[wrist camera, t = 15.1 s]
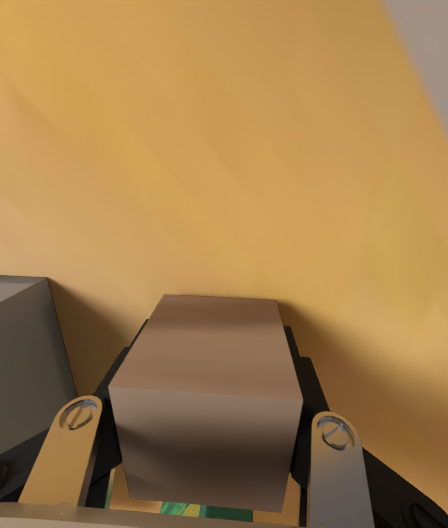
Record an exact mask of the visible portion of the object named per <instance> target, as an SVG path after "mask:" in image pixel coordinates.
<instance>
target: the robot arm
mask: <svg viewBox="0 0 448 528" xmlns="http://www.w3.org/2000/svg"><path fill="white" fill-rule="evenodd" d="M148 320H149V319H147V320H146V321H145V322H144V324H143V326H142V327H141V329H140V330H139V332H138V334H137V335H136V337H135V338H134V340H133V342H132V343H131V345H130V346H129V347H125V348H124V349H123V350H122V351H121V353H120V354H119V356H118V357H117V359H116V360H115V362H114V363H113V365H112V367H111V368H110V370H109V371H108V373H107V374H106V376H105V377H104V379H103V380H102V382H101V383H100V385H99V386H98V388H97V390H96V391H95V393H94V394H93V396H92V395H90V396H82V397H78V398H76V399H74V400H72V401H70V402H69V403H67V404H66V405H65V406H64V407H63V408H62V409H61V410H60V411H59V412H58V413H57V415H56V417H55V419H54V421H53V423H52V425H51V427H50V428H48V429H46V430H44V431H42V432H41V433H39V434H37V435H35V436H33V437H31V438H30V439H28V440H26V441H24V442H22V443H20V444H18V445H17V446H15V447H13V448H11V449H9V450H7V451H5V452H4V453H2V454H0V528H448V515H447V514H446V512H445V511H444V510H443V509H442V508H441V507H439V506H438V505H437V504H436V503H435V502H434V501H432V500H431V499H430V498H429V497H427V496H426V495H425V494H423V493H422V492H421V491H419V490H418V489H417V488H415V487H414V486H413V485H411V484H410V483H409V482H408V481H406V480H405V479H404V478H402V477H401V476H400V475H398V474H397V473H396V472H394V471H393V470H392V469H390V468H389V467H388V466H386V465H385V464H384V463H383V462H381V461H380V460H379V459H377V458H376V457H375V456H373V455H372V454H371V453H369V452H368V451H367V450H365V449H364V448H363V447H362V446H361V440H360V437H359V434H358V432H357V430H356V429H355V427H354V426H353V425H352V424H351V423H350V422H349V421H348V420H347V419H346V418H344V417H343V416H341V415H339V414H336V413H334V412H330V410H329V407H328V404H327V402H326V399H325V396H324V394H323V391H322V388H321V386H320V383H319V380H318V378H317V375H316V372H315V370H314V367H313V364H312V361H311V359H310V358H309V357H300V355H299V351H298V348H297V345H296V342H295V339H294V336H293V333H292V330H291V327H290V326H283V328H284V332H285V335H286V339H287V343H288V346H289V350H290V354H291V357H292V361H293V365H294V368H295V372H296V376H297V379H298V383H299V387H300V390H301V394H302V397H303V404H302V409H301V414H300V419H299V424H298V429H297V435H296V440H295V445H294V450H293V455H292V460H291V465H290V470H289V473H291V476H292V478H293V479H294V480H295V481H296V482H297V483H298V484H299V495H298V512H297V526H286V525H276V524H266V523H256V522H245V521H235V520H224V519H214V518H203V517H192V516H181V515H170V514H159V513H148V512H137V511H125V510H113V509H109V504H110V498H111V492H112V486H113V480H114V474H115V467H116V466H118V465H119V464H120V463H121V462H122V454H121V449H120V444H119V439H118V434H117V429H116V424H115V419H114V414H113V409H112V404H111V398H110V393H109V388H108V386H109V384H110V382H111V381H112V379H113V377H114V376H115V374H116V372H117V371H118V369H119V368H120V366H121V364H122V363H123V361H124V359H125V358H126V356H127V354H128V353H129V351H130V349H131V348H132V346H133V344H134V343H135V341H136V340H137V338H138V336H139V335H140V333H141V331H142V330H143V328H144V326H145V325H146V323H147V321H148Z"/></svg>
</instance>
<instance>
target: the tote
mask: <svg viewBox="0 0 448 528" xmlns="http://www.w3.org/2000/svg"><path fill="white" fill-rule="evenodd" d="M76 398H77V394H76V390H75V386H74V382H73V378H72V374H71V370H70V367H69V363H68V359H67V355H66V351H65V347H64V343H63V339H62V335H61V331H60V327H59V323H58V319H57V316H56V312H55V308H54V304H53V300H52V296H51V292H50V288H49V284H48V280H47V277H27V276H6V275H0V454H2V453H4V452H5V451H7V450H9V449H11V448H13V447H15V446H17V445H18V444H20V443H22V442H24V441H26V440H28V439H30V438H31V437H33V436H35V435H37V434H39V433H41V432H42V431H44V430H46V429H48V428H50V427H51V425H52V423H53V421H54V419H55V417H56V415H57V413H58V412H59V411H60V410H61V409H62V408H63V407H64V406H65V405H66V404H67V403H69V402H70V401H72V400H74V399H76Z"/></svg>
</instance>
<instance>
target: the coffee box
mask: <svg viewBox="0 0 448 528" xmlns="http://www.w3.org/2000/svg"><path fill="white" fill-rule="evenodd" d="M160 514H170V515H181V516H192V517H203V518H214V519H224V520H235V521H245V522H253V510H249V509H238V508H228V507H217V506H207V505H196V504H185V503H175V502H164V501H163V504H162V507H161V511H160Z"/></svg>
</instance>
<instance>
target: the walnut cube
mask: <svg viewBox="0 0 448 528" xmlns="http://www.w3.org/2000/svg"><path fill="white" fill-rule="evenodd" d="M108 388H109V393H110V398H111V404H112V409H113V414H114V419H115V424H116V429H117V434H118V439H119V444H120V449H121V454H122V460H123V465H124V470H125V475H126V480H127V485H128V490H129V495H130V498H132V499H143V500H153V501H164V502H175V503H185V504H196V505H207V506H217V507H228V508H238V509H249V510H260V511H270V512H281V510H282V505H283V500H284V495H285V490H286V485H287V480H288V475H289V470H290V465H291V460H292V455H293V450H294V445H295V440H296V435H297V429H298V424H299V419H300V414H301V409H302V404H303V397H302V394H301V390H300V387H299V383H298V379H297V376H296V372H295V368H294V365H293V361H292V357H291V354H290V350H289V346H288V343H287V339H286V335H285V332H284V328H283V324H282V321H281V317H280V313H279V310H278V306H277V303H276V300H262V299H243V298H224V297H205V296H186V295H167V294H164V295H163V297H162V298H161V300H160V302H159V303H158V305H157V307H156V308H155V310H154V312H153V313H152V315H151V317H150V318H149V320H148V321H147V323H146V325H145V326H144V328H143V330H142V331H141V333H140V335H139V336H138V338H137V340H136V341H135V343H134V344H133V346H132V348H131V349H130V351H129V353H128V354H127V356H126V358H125V359H124V361H123V363H122V364H121V366H120V368H119V369H118V371H117V372H116V374H115V376H114V377H113V379H112V381H111V382H110V384H109V386H108Z"/></svg>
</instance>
